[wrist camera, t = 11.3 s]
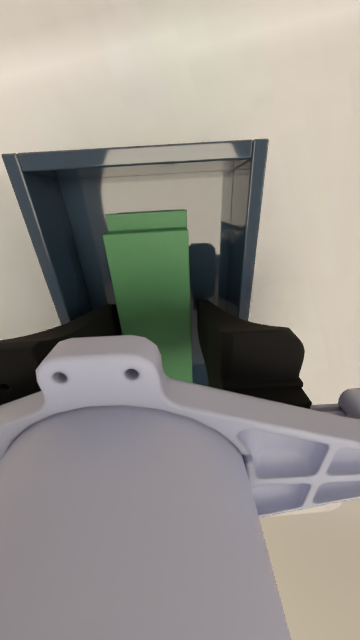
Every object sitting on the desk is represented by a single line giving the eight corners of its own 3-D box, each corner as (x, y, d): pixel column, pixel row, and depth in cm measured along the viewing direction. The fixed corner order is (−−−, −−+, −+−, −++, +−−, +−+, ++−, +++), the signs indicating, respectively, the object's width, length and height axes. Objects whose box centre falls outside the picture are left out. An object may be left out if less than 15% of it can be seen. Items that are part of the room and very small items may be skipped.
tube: (190, 375, 17) (193, 401, 15) (141, 377, 17) (136, 403, 15) (185, 209, 12) (187, 210, 9) (113, 213, 12) (97, 215, 10)
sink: (110, 391, 19) (97, 428, 16) (49, 168, 11) (-1, 153, 8) (226, 385, 19) (236, 422, 16) (243, 157, 11) (269, 138, 8)
